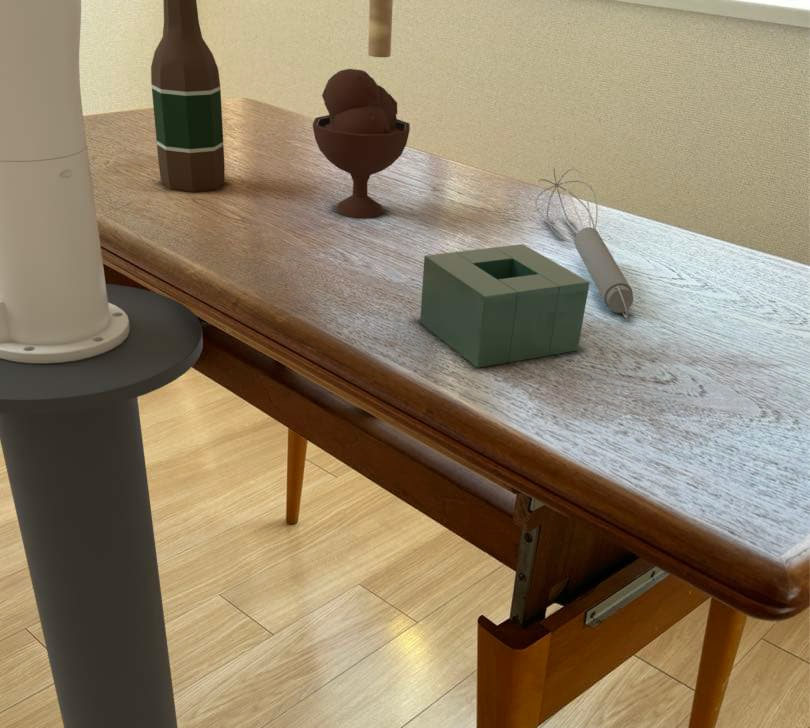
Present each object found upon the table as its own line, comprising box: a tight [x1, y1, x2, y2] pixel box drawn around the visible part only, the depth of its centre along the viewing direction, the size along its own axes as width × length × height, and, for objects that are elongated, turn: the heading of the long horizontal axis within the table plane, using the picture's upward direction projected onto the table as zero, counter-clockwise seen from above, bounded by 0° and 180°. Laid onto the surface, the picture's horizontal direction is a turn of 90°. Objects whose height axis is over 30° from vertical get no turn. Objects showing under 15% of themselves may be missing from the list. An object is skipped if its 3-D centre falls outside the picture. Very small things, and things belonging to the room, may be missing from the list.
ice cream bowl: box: [312, 68, 411, 219], centre depth 105 cm, size 11×11×15 cm
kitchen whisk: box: [534, 167, 634, 319], centre depth 97 cm, size 6×34×6 cm, turn 4°
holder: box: [419, 243, 590, 369], centre depth 80 cm, size 10×10×6 cm
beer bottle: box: [150, 0, 226, 193], centre depth 108 cm, size 8×8×24 cm
